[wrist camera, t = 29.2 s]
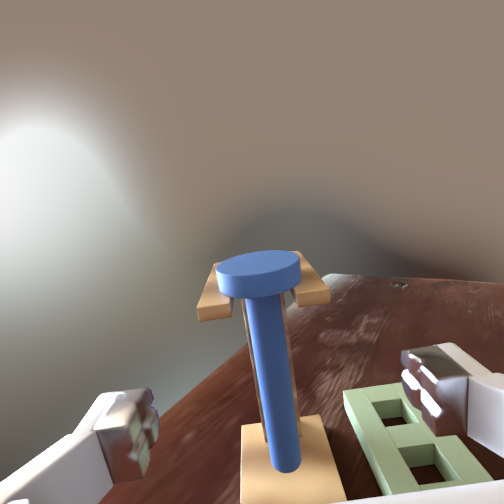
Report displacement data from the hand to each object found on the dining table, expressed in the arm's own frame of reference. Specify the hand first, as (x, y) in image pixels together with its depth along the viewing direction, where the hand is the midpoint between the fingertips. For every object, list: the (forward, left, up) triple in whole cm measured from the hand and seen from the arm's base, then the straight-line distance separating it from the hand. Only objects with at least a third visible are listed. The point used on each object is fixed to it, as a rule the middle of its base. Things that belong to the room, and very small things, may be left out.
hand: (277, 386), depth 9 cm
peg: (-10, -6, -17) cm, 20 cm away
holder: (-19, +3, -22) cm, 29 cm away
